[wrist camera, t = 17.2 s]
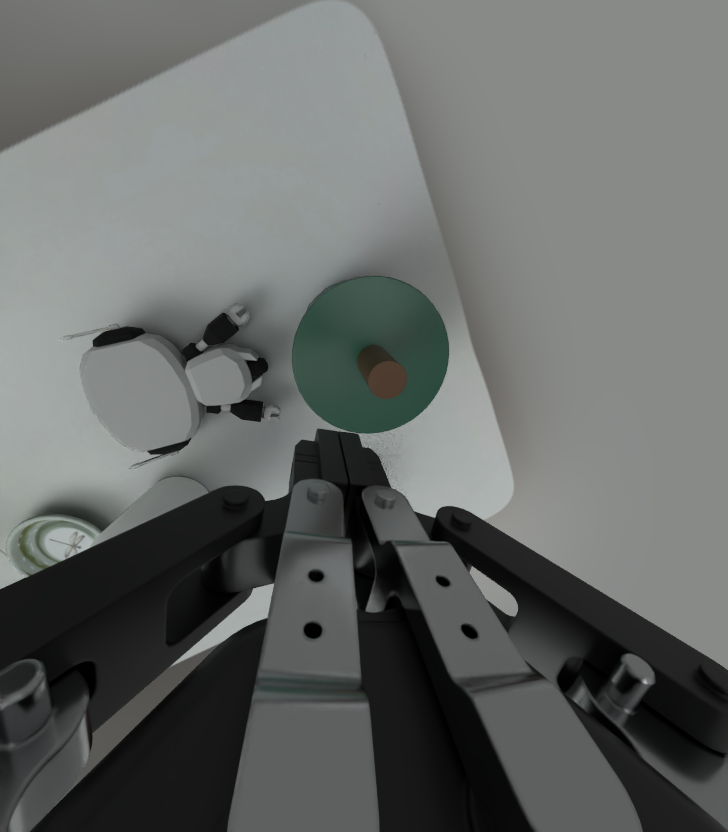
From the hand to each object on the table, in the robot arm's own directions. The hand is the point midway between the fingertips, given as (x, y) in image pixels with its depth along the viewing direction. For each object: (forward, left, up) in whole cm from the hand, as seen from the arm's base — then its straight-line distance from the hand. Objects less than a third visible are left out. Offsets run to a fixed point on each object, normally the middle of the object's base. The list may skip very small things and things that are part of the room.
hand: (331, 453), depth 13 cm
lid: (+3, +3, -14) cm, 14 cm away
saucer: (-3, -34, -24) cm, 41 cm away
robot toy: (-6, -11, -24) cm, 26 cm away
